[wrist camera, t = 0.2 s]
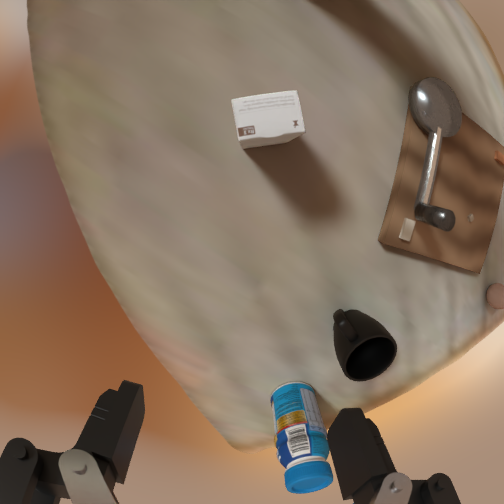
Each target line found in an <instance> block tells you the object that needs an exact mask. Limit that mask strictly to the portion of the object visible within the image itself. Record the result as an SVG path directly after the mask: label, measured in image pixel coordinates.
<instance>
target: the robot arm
mask: <svg viewBox="0 0 504 504" xmlns="http://www.w3.org/2000/svg"><path fill="white" fill-rule="evenodd" d="M144 414H145V405H144V394H143V386H142V385H141V384H137V383H133V382H129V381H126V380H124V381H123V382H122V383H121V385H120V387H119V390H118V391H115V390H112V389H108V390H107V391H106V392H104V393H103V394H102V395H101V396H100V397H99V399H98V401H97V403H96V405H95V408H94V409H93V411H92V413H91V416H89V419H88V420H87V422H86V425H85V427H84V429H83V431H82V433H81V435H80V437H79V439H78V441H77V443H76V445H75V446H74V447H73V448H72V449H70V450H67V451H65V452H62V453H57V452H56V453H55V452H50V451H45V450H40V449H36V448H35V446H34V445H33V444H32V443H31V442H30V441H28V440H26V439H24V438H14V439H12V440H10V441H9V442H8V443H7V445H6V447H5V449H4V451H3V453H2V455H1V457H0V504H59V502H60V498H67V499H71V501H72V503H73V504H119V502H118V500H117V498H116V497H115V495H114V493H113V489H114V486H115V483H116V482H118V483H121V484H124V481H125V478H126V474H127V471H128V467H129V464H130V461H131V458H132V454H133V451H134V448H135V444H136V441H137V438H138V435H139V432H140V429H141V426H142V423H143V419H144ZM327 441H328V445H329V448H330V452H331V456H332V459H333V463H334V467H335V471H336V474H337V478H338V481H339V486H340V489H341V493H342V497H343V500H348V499H353V501H354V503H353V504H461V503H460V500H459V498H458V496H457V493H456V491H455V489H454V486H453V484H452V481H451V479H450V478H449V477H448V476H447V475H445V474H443V473H437V474H434V475H432V476H431V477H430V478H429V479H428V480H410V479H409V477H408V476H406V475H405V474H403V473H398V472H397V471H396V469H395V467H394V464H393V462H392V460H391V457H390V455H389V453H388V450H387V448H386V446H385V445H384V441H383V439H382V437H381V435H380V432H379V430H378V428H377V426H376V425H375V424H374V423H373V422H372V421H371V420H370V419H369V418H367V419H366V418H365V416H364V413H363V411H362V410H361V409H360V408H343V409H342V410H341V411H340V412H339V414H338V416H337V417H336V419H335V420H334V422H333V423H332V425H331V427H330V428H329V430H328V434H327Z"/></svg>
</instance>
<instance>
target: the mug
mask: <svg viewBox="0 0 504 504" xmlns="http://www.w3.org/2000/svg"><path fill="white" fill-rule="evenodd" d="M333 318H334V321H335V323H334V326H333V330H334V346H335V351H336V355H337V359H338V361H339V364H340V366H341V368H342V370H343V372H344V374H345V376H346V377H348V378H349V379H351V380H353V381H366V380H370V379H373V378H375V377H377V376H378V375H380V374H382V373H383V372H384V371H385V370H386V369H387V368H388V367H389V366H390V365H391V363H392V362H393V360H394V358H395V356H396V352H397V344H396V342H395V340H394V339H393V337H392V336H391V335H390V333H389V332H388V331H387V330H386V329H385V328H384V326H383V325H382V324H380V323H379V322H378V321H376V320H375V319H373V318H372V317H370V316H368V315H366V314H364V313H362V312H360V311H358V310H348V311H345V312H344V311H343V310H342V309H339V310H337V311H336V312H335V313H334V315H333Z"/></svg>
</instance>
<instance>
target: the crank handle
mask: <svg viewBox="0 0 504 504" xmlns="http://www.w3.org/2000/svg"><path fill="white" fill-rule="evenodd" d="M408 100H409V108H410V111H411V114H412V117H413V119H414V120H415V122H416V124H417V125H418V126H419V128H420V129H421V130H422V131H423V132H424V133H426V134H427V135H429V137H428V143H427V149H426V155H425V160H424V165H423V170H422V175H421V179H420V184H419V188H418V192H417V196H416V200H415V204H414V208H413V209H414V215H415V218H416V219H417V220H418V221H420V222H423V223H425V224H428V225H431V226H433V227H436V228H438V229H441V230H444V231H446V232H448V231H451V230H452V229H453V227H454V225H455V221H456V218H455V214H454V212H453V211H451V210H448V209H445V208H441V207H438V206H434V205H430V204H429V203H430V199H431V194H432V190H433V186H434V181H435V177H436V172H437V167H438V161H439V156H440V150H441V143H442V137H451V136H454V135H455V134H456V133H457V132H458V131H459V129H460V127H461V123H462V112H461V107H460V104H459V101H458V99H457V97H456V95H455V93H454V92H453V90H452V89H451V88H450V87H449V86H448V85H447V84H446V83H445V82H444V81H442V80H440V79H438V78H434V77H430V78H426V79H424V80H421V81H419V82H417V83H415V84H414V85H413V86H412V87H411V89H410V92H409V99H408Z"/></svg>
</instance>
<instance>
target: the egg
mask: <svg viewBox="0 0 504 504" xmlns="http://www.w3.org/2000/svg"><path fill="white" fill-rule="evenodd" d="M486 296H487V301H488V303H489V304H490V305H491V306H492V307H493V308H495V309H503V308H504V285H502V284H500V283H495V284H492V285H491V286H490V287H489V288H488V290H487V295H486Z"/></svg>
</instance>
